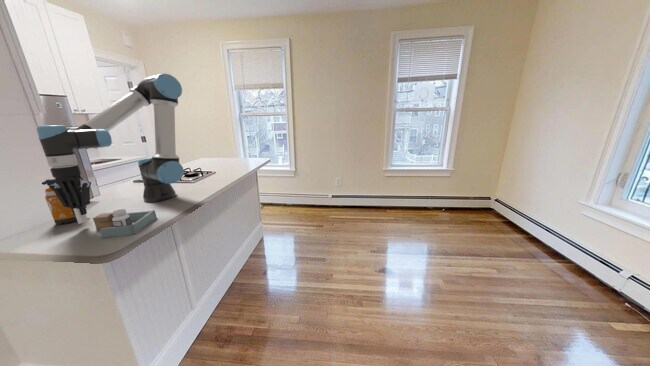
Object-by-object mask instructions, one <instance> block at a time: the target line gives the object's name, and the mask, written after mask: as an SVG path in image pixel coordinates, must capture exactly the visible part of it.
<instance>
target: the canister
mask: <svg viewBox="0 0 650 366" xmlns="http://www.w3.org/2000/svg"><path fill="white" fill-rule="evenodd" d="M54 183H55V178H52V179H49V178H48V179H45V180H44V181H42V182H41V184H42V185H43V186H45V185H47V186H48V187H47V188H45V190H44V193H45V196H44V198H45V201H46V204H47V206H48V209H49V211H50V213H51V216H52V219H53V221H54V224H56V225H59V224H61V225H63V224H62V223H66V224H70V223H69V222H71V223H74V221H75V222H78V221H77V218H76V216H74V215H73V212H72V209H71V208H69V207H67V208H66V207H64V206H63V204H62V203H61V201H60V200H59V198H58V197H57V195H56V194H55V192H54V191H53V190H52V189H51V188H49V186H50V185H53V184H54ZM87 207H88V205H86V206H85V208H86V209H87Z"/></svg>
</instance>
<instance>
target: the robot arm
mask: <svg viewBox="0 0 650 366" xmlns="http://www.w3.org/2000/svg"><path fill="white" fill-rule="evenodd" d="M182 93H183V87H182V85H181V83H180V81H178V79H177V78H176V77H175V76H173V75H171V74H169V73H157V74H155V75H150V76H146V77H145V78H143V79H142V80H141V81H139V82H138V83H137V84H136V85H134V86H133V87H131V88H130V89H129V93H127V94H126V95H124V96H123V97H122V98H119V99H118V100H117V101H116V102H113V103H112V104H111V105H109V106H108V107H107V108H105V109H103V110H102V111H101V112H98V114H96V115H95V116H93V117H92V118H90V119H88V120H87V121H86V122H84V123H83V124H80V125H79V126H78V127H77V128H75V129H68V128H67V126H66V125H65V124H57V125H56V124H55V125H40V126H37V128H36V132H37V136H38V140H39V143H40V144H41V147H42V149H43V153H44V156H45V158H46V161H47V164H48V166H49V167H50V173H51V176H52V177H53V179H55V183H54V184H53V185H50V186H48V188H51V189H52V190H53V191H54V192H55V194H56V195H57V197H58V198H59V200H60V201H61V203H62V204H63V206H64V207H66V208H67V207H69V208H71V209H72V212H73V215H74V216H76V218H77V221H76V222H77V224H78V225H80V224H84V223H86V222H88V221H89V220H88V216H87V214H88V211H87V207H86V208H85V206H89V205H90V204H91V194H90V193H91V192H90V188H91V185H92V181H85V180H84V179H83V178H82V176H81V174H82V172H81V169H80V166H79V165H78V163H79V162H78V159H77V157H76V154H75V153H76V152H75V151H74V150H84V149H96V148H101V149H103V148H107V147H111V146H112V144H113V140H112V137H111V134H110V132H111V130H112V129H114V128H115V127H116V126H118V125H120V124H121V123H122V122H124V121H125V120H127V119H128V118H130V116H132V115H133V114H135V113H136V112H138V111H139V110H140V109H142V108H143V107H148V106H150V105H153V112H154V117H153V118H154V119H153V120H154V139H155V140H154V141H155V142H154V143H155V144H154V145H155V146H154V148H155V152H154V153H155V154H153V155H152V156H151V157H148V158H142V159H139V160H138V161H137V162H138V169H139V172H140V175H141V179H142V182H143V186H144V188H143V196H142V197H143V201H144V202H145V203H156V202H162V201H166V200H170V199H173V198H174V197H176V195H177V194H176V191H175V189H174V187H173V186H172V184H174V183H177V182H179V181H181V180H182V178H183V175H184V171H185V170H184V167H183V165H182V164H181V163H180V157H179V156H178V155H177V154H176V148H177V147H176V116H175V115H176V110H175V109H176V107H177V106H179V100H178V99H179V98H180V97H181V96H182Z"/></svg>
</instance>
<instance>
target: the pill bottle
mask: <svg viewBox="0 0 650 366" xmlns="http://www.w3.org/2000/svg"><path fill="white" fill-rule="evenodd" d="M126 213H127V210H126V209H124V208H122V209H117V210H114V211H112V214H113V216H114V217H113V219H112V221H113V224H114V226H113V227H119V226H129V225H132V224H133V223H132V221H131V218H130V216H129V215H128V214H126Z"/></svg>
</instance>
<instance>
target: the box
mask: <svg viewBox="0 0 650 366" xmlns="http://www.w3.org/2000/svg"><path fill="white" fill-rule="evenodd" d="M126 214H128V215H129V216H130V218H131V222H132V221H135V222H134V223H132V225H129V226H119V227H114V226H112V227H108V228H101V229H99V232H100V235H101V238H104V239H105V238H112V237H121V236H122V237H123V236H131V235H132V236H133V235H136V234H137V233H138V232H139V231H141V230H142V229H144V228H145V227H146V226H148V225H149V224H151V222H153V221H154V220H156V219H157V213H156V211H155V210H154V209H153V210H143V211H134V212H133V211H132V212H126Z"/></svg>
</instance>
